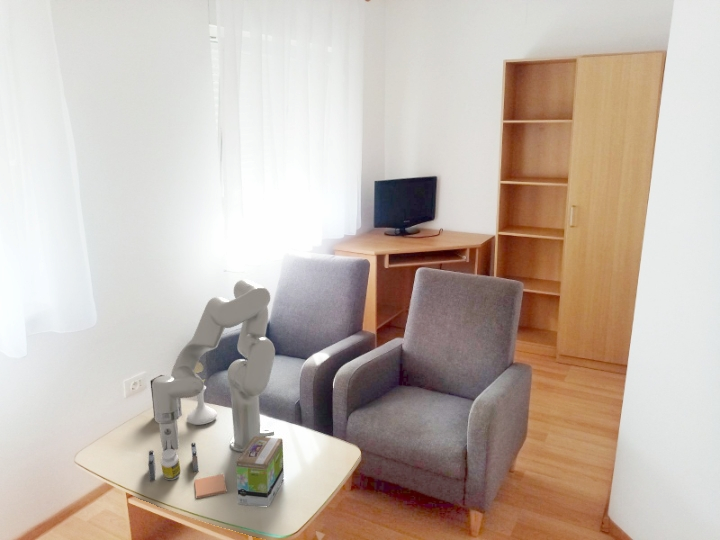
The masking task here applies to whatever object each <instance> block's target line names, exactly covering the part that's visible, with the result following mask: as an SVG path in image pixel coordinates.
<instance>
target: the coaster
mask: <svg viewBox="0 0 720 540" xmlns="http://www.w3.org/2000/svg"><path fill="white" fill-rule="evenodd" d="M194 486H195V487H194V488H195V497H196V498H195V499H200V498H201V499H202V498H206V497H210V496H215V495H219V494H223V493H227V487H226V480H225V475H224V473H221V474H216V475H212V476H207V477H202V478H197V479H194Z"/></svg>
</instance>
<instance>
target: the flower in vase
mask: <svg viewBox="0 0 720 540" xmlns="http://www.w3.org/2000/svg"><path fill="white" fill-rule="evenodd" d="M202 364H203V363H202V362H199V361H198V363H197V365H196V367H195V370H194V372H195V373H196V374H199V373H200V372H201V373H202V372H203V371H204V368H205V367H204V365H202ZM202 380H203V383H205V381H206V379H205V378H204V379H202ZM206 389H207V386H206V385H204V388H203V390H202V392H201V393H200V394H198V395H197V396H196V399H197V406H196V407H195V408H194V409H192V410H191V411H190V412H189V413H188V414H187V416H186V421H187V422H188V423H189V424H192V425H196V426H199V425H201V426H202V425H205V424H208V423H211V422H213V421H215V420H216V418H217V416H218V413H217V411H216V410H215V409H214V408H212V407H209V406H208V405H207V404H205V401H204V393H205V391H206Z"/></svg>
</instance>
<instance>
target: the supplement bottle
mask: <svg viewBox="0 0 720 540" xmlns="http://www.w3.org/2000/svg"><path fill="white" fill-rule="evenodd" d="M175 452H176V450H175V451H174V450H173V449H167V450H165V451H162V454H161V456H162V457H161V458H160V464H161V469H162V470H161V471H162V476H163V477H164V479H166V481H167V480H168V481H173V480H175V479H177V478H179V476H180V475H181V472H182V471H181V465H180V460H179V459H180V458H179V456H178V454H177V453H175Z"/></svg>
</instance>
